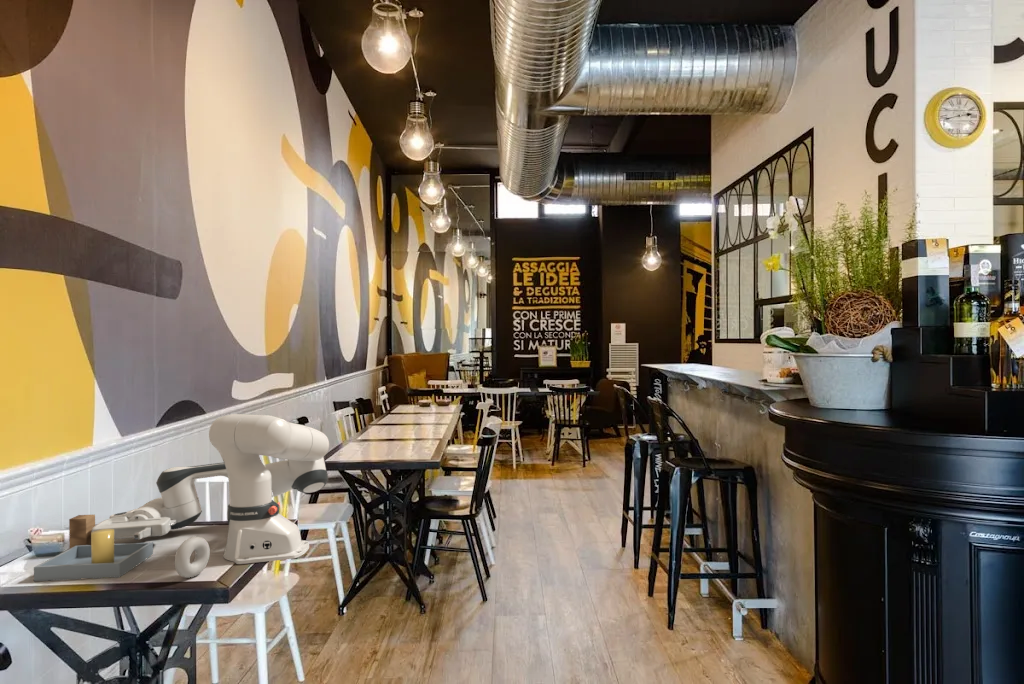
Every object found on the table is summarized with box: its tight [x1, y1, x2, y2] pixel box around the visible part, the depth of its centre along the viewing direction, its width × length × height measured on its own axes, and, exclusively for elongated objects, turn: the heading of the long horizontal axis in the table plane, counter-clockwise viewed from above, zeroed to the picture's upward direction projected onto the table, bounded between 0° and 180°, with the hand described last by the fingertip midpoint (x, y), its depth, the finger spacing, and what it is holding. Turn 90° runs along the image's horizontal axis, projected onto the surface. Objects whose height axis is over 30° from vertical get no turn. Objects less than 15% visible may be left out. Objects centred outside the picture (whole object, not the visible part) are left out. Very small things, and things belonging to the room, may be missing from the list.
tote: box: [33, 541, 154, 582], centre depth 167 cm, size 20×18×4 cm
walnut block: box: [68, 514, 96, 549], centre depth 181 cm, size 4×4×10 cm
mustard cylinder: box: [91, 529, 115, 564], centre depth 163 cm, size 5×5×10 cm
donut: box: [174, 535, 211, 579], centre depth 159 cm, size 10×4×10 cm, turn 162°
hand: (119, 538), depth 175 cm, fingers open, 8 cm apart
